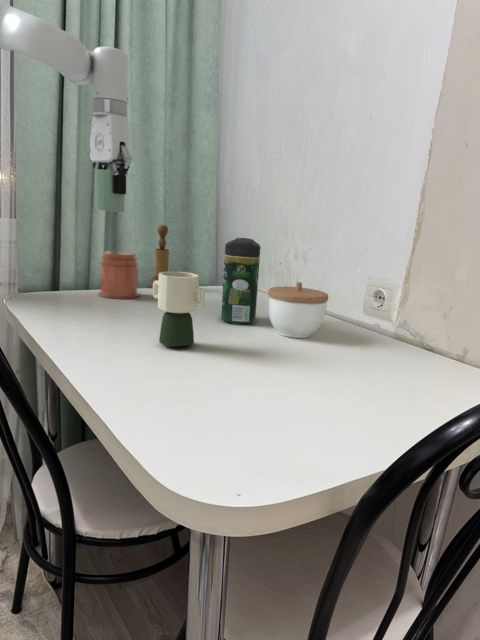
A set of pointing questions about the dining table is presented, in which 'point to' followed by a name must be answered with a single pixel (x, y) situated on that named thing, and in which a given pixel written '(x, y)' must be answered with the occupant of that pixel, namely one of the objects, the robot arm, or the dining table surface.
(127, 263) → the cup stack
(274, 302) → the lidded bowl
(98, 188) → the cup
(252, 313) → the coffee jar
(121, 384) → the dining table surface
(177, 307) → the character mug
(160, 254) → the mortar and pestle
